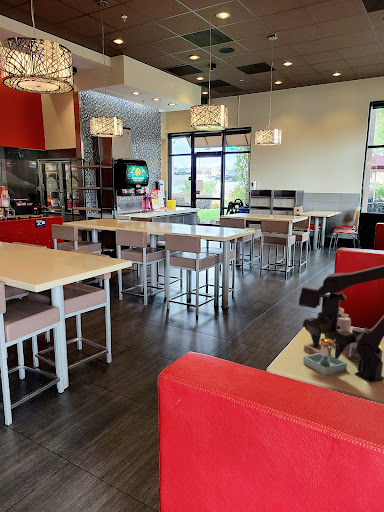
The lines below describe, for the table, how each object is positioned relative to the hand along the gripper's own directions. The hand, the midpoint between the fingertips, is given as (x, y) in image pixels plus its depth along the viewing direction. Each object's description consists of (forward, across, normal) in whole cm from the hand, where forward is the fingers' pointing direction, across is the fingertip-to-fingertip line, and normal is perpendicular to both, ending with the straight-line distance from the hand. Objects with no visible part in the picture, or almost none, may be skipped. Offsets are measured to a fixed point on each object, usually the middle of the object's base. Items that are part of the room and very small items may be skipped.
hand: (325, 353), depth 133 cm
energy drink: (+5, -10, +20) cm, 23 cm away
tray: (+5, 0, 0) cm, 5 cm away
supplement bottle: (+5, 0, +16) cm, 17 cm away
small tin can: (+4, 0, 0) cm, 4 cm away
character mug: (+5, -18, +24) cm, 30 cm away
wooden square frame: (+5, -10, +7) cm, 13 cm away
